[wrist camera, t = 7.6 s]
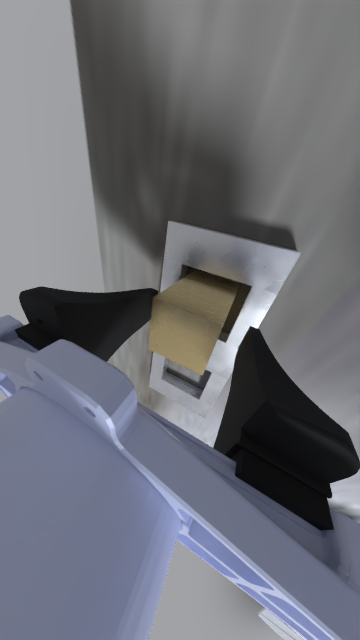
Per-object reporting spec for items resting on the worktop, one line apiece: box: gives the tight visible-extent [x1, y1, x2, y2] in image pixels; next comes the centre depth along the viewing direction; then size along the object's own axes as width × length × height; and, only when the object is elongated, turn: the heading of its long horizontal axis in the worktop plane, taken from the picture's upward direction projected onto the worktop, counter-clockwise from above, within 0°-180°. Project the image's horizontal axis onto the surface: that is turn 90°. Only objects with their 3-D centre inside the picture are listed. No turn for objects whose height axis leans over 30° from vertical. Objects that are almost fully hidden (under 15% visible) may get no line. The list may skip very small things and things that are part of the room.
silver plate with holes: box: [149, 221, 301, 418], centre depth 17 cm, size 22×9×2 cm, turn 169°
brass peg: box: [149, 270, 240, 376], centre depth 12 cm, size 4×4×7 cm
